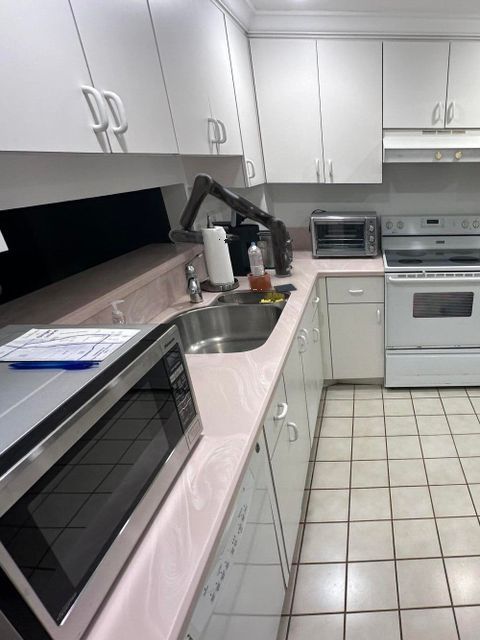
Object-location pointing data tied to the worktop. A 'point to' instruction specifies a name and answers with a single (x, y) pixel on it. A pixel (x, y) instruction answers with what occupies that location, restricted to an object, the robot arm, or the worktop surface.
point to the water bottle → (256, 261)
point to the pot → (259, 282)
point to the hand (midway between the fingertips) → (234, 239)
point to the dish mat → (285, 288)
